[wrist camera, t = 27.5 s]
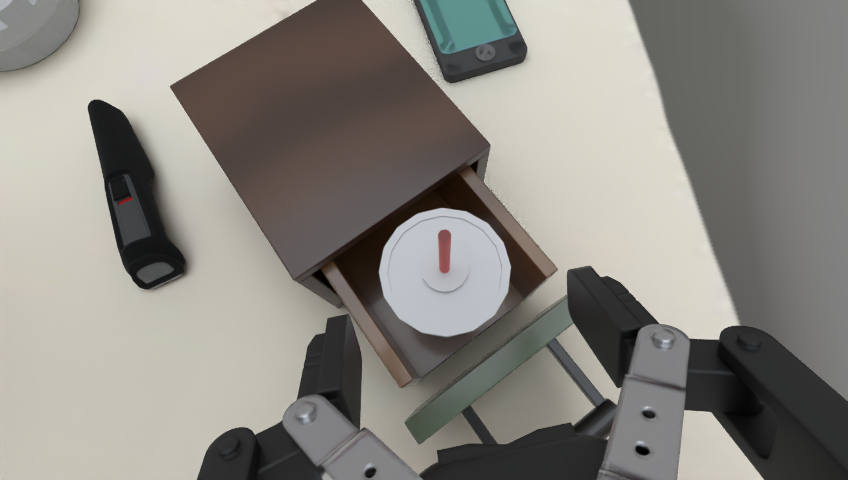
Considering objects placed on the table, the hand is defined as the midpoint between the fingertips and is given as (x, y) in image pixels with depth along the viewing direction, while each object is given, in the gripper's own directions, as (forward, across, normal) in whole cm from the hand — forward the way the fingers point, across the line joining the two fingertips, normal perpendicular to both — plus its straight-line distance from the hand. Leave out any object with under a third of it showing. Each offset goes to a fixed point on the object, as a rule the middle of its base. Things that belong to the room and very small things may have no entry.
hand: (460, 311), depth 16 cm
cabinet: (+20, +5, +1) cm, 20 cm away
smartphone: (+31, -7, -10) cm, 33 cm away
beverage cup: (+11, 0, +7) cm, 13 cm away
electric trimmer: (+21, +21, -2) cm, 30 cm away
